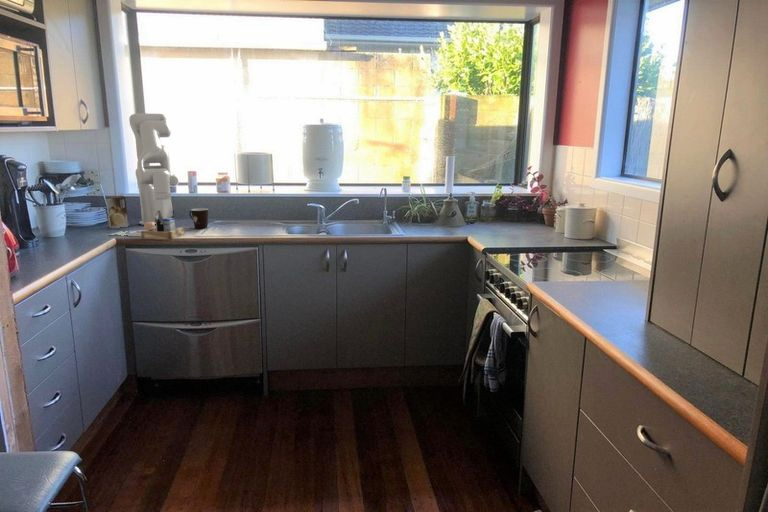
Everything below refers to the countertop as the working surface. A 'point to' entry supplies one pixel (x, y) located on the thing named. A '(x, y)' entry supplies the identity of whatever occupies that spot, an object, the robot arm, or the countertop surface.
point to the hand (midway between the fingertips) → (165, 230)
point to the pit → (135, 233)
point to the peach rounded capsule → (149, 225)
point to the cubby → (161, 234)
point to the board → (120, 233)
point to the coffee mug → (200, 217)
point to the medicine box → (168, 224)
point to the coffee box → (117, 212)
